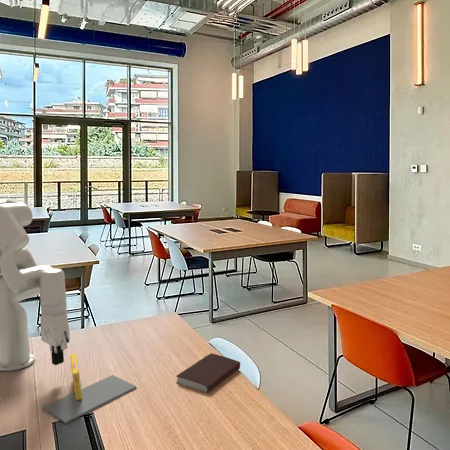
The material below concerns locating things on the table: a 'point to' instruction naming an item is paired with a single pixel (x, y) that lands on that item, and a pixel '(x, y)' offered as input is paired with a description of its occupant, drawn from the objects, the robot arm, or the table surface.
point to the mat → (89, 398)
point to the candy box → (76, 377)
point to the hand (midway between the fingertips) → (58, 363)
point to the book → (208, 372)
